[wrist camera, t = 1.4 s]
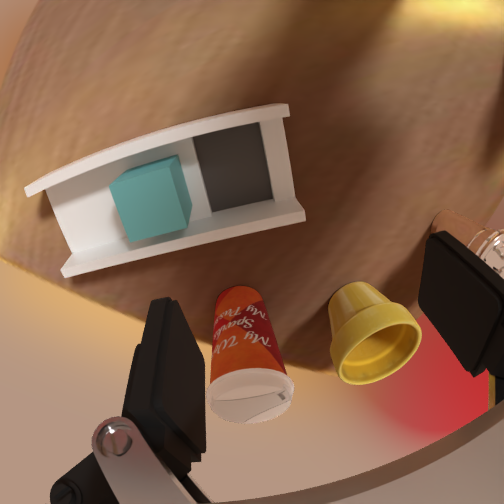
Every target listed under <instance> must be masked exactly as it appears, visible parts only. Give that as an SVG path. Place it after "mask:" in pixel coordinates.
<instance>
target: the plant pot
mask: <svg viewBox="0 0 504 504" xmlns="http://www.w3.org/2000/svg"><path fill="white" fill-rule="evenodd" d="M328 313H329V319H330V325H331V332H332V339H333V340H332V342H331V346H330V355H331V358H332V361H333V364H334V367H335V370H336V372H337V374H338V376H339V378H340V379H341V380H342V381H344V382H346V383H348V384H353V385H361V384H368V383H372V382H376V381H378V380H381V379H383V378H385V377H387V376H389V375H391V374H392V373H394V372H395V371H397V370H398V369H399V368H401V367H402V366H403V365H404V364H405V363H406V362H407V361H408V360H409V359H410V358H411V357H412V356H413V355H414V353H415V352H416V350H417V348H418V346H419V343H420V341H421V335H422V334H421V329H420V326H419V325H418V324H417V322H416V320H415V319H414V318H413V316H412V315H411V314H410V313H409V311H408V310H407V309H406V308H405V307H404V306H402V305H401V304H398V303H394V302H391V301H390V300H389V299H387V298H386V297H385V296H384V295H382V294H381V293H380V292H379V291H377V290H376V289H375V288H374V287H372V286H371V285H370V284H368V283H365V282H353V283H349V284H347V285H345V286H343V287H342V288H340V289H339V290H338V291H337V292H336V293H335V294H334V295H333V296H332V298H331V300H330V302H329V305H328Z"/></svg>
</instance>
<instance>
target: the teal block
mask: <svg viewBox="0 0 504 504" xmlns="http://www.w3.org/2000/svg"><path fill="white" fill-rule="evenodd" d="M109 189H110V191H111V194H112V197H113V200H114V203H115V205H116V208H117V211H118V213H119V216H120V219H121V221H122V224H123V226H124V229H125V231H126V234H127V236H128V239H129V241H130V242H134V241H138V240H142V239H146V238H149V237H153V236H157V235H161V234H165V233H169V232H173V231H177V230H181V229H185V228H188V224H189V219H190V215H191V210H192V206H193V205H192V202H191V198H190V195H189V191H188V188H187V184H186V181H185V177H184V174H183V170H182V167H181V163H180V159H179V156H178V154H177V155H173V156H170V157H166V158H163V159H159V160H156V161H153V162H149V163H146V164H143V165H140V166H137V167H134V168H131V169H128V170H126V171H125V172H123V173H122V174H121V175H120V176H119V177H118V178H117V179H115V180H114V181H113V182H112V183H111V184H110V185H109Z"/></svg>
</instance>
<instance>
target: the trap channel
mask: <svg viewBox="0 0 504 504" xmlns="http://www.w3.org/2000/svg"><path fill="white" fill-rule="evenodd" d="M289 116H290V112H289V107H288V104H282V103H274V104H268V105H263V106H257V107H252V108H246V109H241V110H237V111H232V112H227V113H223V114H218V115H214V116H210V117H206V118H202V119H198V120H194V121H190V122H186V123H183V124H179V125H176V126H172V127H169V128H165V129H162V130H159V131H156V132H152V133H149V134H146V135H143V136H140V137H137V138H134V139H131V140H128V141H125V142H123V143H120V144H117V145H114V146H112V147H109V148H106V149H104V150H101V151H99V152H96V153H93V154H91V155H89V156H86V157H84V158H81V159H79V160H77V161H74V162H72V163H70V164H67V165H65V166H63V167H61V168H59V169H56V170H54V171H52V172H50V173H48V174H46V175H44V176H42V177H41V178H39V179H37V180H36V181H34V182H32V183H31V184H29V185H28V186H26V187H24V189H25V192H26V195H27V197H30V196H32V195H34V194H36V193H38V192H40V191H42V190H44V189H45V190H46V193H47V196H48V198H49V201H50V203H51V206H52V208H53V211H54V213H55V216H56V218H57V221H58V223H59V225H60V228H61V230H62V232H63V234H64V237H65V239H66V241H67V243H68V245H69V247H70V250H71V252H72V255H71V256H70V257H69V259H68V260H67V261H66V263H65V264H64V266H63V267H62V268H61V272H62V274H63V276H64V278H67V277H71V276H75V275H79V274H83V273H86V272H90V271H94V270H98V269H102V268H106V267H110V266H114V265H118V264H122V263H126V262H130V261H134V260H139V259H143V258H147V257H151V256H155V255H159V254H163V253H167V252H172V251H176V250H180V249H184V248H188V247H193V246H197V245H201V244H205V243H210V242H214V241H218V240H223V239H227V238H231V237H236V236H240V235H245V234H249V233H254V232H258V231H262V230H267V229H271V228H276V227H280V226H285V225H290V224H294V223H299V222H303V221H306V216H305V210H304V209H303V207H302V206H301V204H300V203H299V202H298V200H297V199H296V198H295V191H294V184H293V178H292V172H291V166H290V159H289V153H288V147H287V142H286V136H285V130H284V125H283V119H282V118H283V117H289ZM177 154H178V156H179V159H180V163H181V167H182V170H183V174H184V177H185V181H186V184H187V188H188V191H189V195H190V198H191V202H192V205H193V206H192V210H191V215H190V219H189V224H188V228H185V229H181V230H177V231H173V232H169V233H165V234H161V235H157V236H153V237H149V238H146V239H142V240H138V241H134V242H130V241H129V239H128V236H127V234H126V231H125V229H124V226H123V224H122V221H121V219H120V216H119V213H118V211H117V208H116V205H115V203H114V200H113V197H112V194H111V191H110V189H109V185H110V184H111V183H112V182H113V181H114V180H115V179H117V178H118V177H119V176H120V175H121V174H122V173H123V172H125V171H126V170H128V169H131V168H134V167H137V166H140V165H143V164H146V163H149V162H153V161H156V160H159V159H163V158H166V157H170V156H173V155H177Z"/></svg>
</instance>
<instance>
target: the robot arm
mask: <svg viewBox="0 0 504 504" xmlns="http://www.w3.org/2000/svg"><path fill="white" fill-rule="evenodd" d="M418 304H419V307H420V308H421V310H422V311H423V312H424V314H425V315H426V316H427V317H428V319H429V320H430V321H431V323H432V324H433V325H434V327H435V328H436V329H437V331H438V332H439V333H440V335H441V336H442V338H443V339H444V340H445V342H446V343H447V344H448V346H449V347H450V349H451V350H452V351H453V353H454V354H455V355H456V357H457V359H458V360H459V361H460V363H461V364H462V366H463V367H464V369H465V370H466V371H468V372H470V373H471V374H472V376H473V377H476V376H477V375H479V374H481V373H482V372H484V371H485V369H486V368H487V370H488V371H489V404H488V405H489V406H488V411H487V412H485V413H484V414H483V415H481V416H479V417H478V418H476V419H475V420H473V421H471V422H470V423H468V424H466V425H465V426H463V427H461V428H460V429H458V430H457V431H455V432H453V433H451V434H449V435H447V436H446V437H444V438H442V439H440V440H438V441H436V442H434V443H432V444H430V445H429V446H427V447H424V448H422V449H420V450H418V451H416V452H414V453H412V454H410V455H407V456H405V457H403V458H401V459H398V460H395V461H393V462H391V463H388V464H386V465H383V466H380V467H378V468H375V469H372V470H370V471H367V472H364V473H361V474H358V475H355V476H352V477H349V478H346V479H343V480H339V481H336V482H332V483H329V484H325V485H321V486H317V487H313V488H309V489H305V490H300V491H296V492H291V493H286V494H280V495H274V496H268V497H262V498H255V499H248V500H240V501H231V502H220V503H215V502H213V500H212V499H211V498H210V497H209V496H208V495H207V494H206V493H205V491H204V490H203V489H202V488H201V487H200V486H199V485H198V483H197V482H196V481H195V480H194V479H193V478H192V476H191V475H190V474H189V472H190V471H191V462H201V453H205V452H206V423H205V362H204V358H203V355H202V353H201V351H200V349H199V347H198V345H197V342H196V340H195V338H194V336H193V334H192V332H191V330H190V328H189V325H188V323H187V321H186V319H185V317H184V315H183V312H182V310H181V308H180V306H179V303H178V302H177V300H174V301H172V300H171V298H170V297H165V298H160V299H156V300H152V301H151V304H150V308H149V311H148V315H147V320H146V324H145V328H144V332H143V337H142V341H141V344H138V345H137V346H136V348H135V352H134V356H133V361H132V365H131V370H130V374H129V379H128V384H127V389H126V394H125V399H124V404H123V410H122V416H121V417H119V416H117V417H111V418H109V419H106V420H104V421H103V422H102V423H101V424H99V426H98V427H97V428H96V430H95V431H94V434H93V436H92V449H93V452H92V453H91V454H90V455H88V456H87V457H86V458H85V459H83V460H82V461H81V462H80V463H78V464H77V465H76V466H75V467H73V468H72V469H71V470H70V471H69V472H67V473H66V474H65V475H63V476H62V477H61V478H60V479H58V480H57V481H56V482H55V484H54V485H53V486H52V489H51V492H50V502H51V504H504V279H503V278H502V277H501V276H500V275H499V274H498V273H497V272H496V271H494V270H493V269H492V268H491V267H490V266H489V265H488V264H486V263H485V262H484V261H483V260H482V259H481V258H479V257H478V256H477V255H476V254H475V253H474V252H472V251H471V250H470V249H469V248H467V247H466V246H465V245H464V244H463V243H461V242H460V241H459V240H457V239H456V238H455V237H454V236H452V235H451V234H450V233H448V232H447V231H445V230H443V231H439V232H435V233H432V234H430V236H429V239H427V241H426V248H425V256H424V264H423V271H422V278H421V284H420V290H419V296H418Z"/></svg>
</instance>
